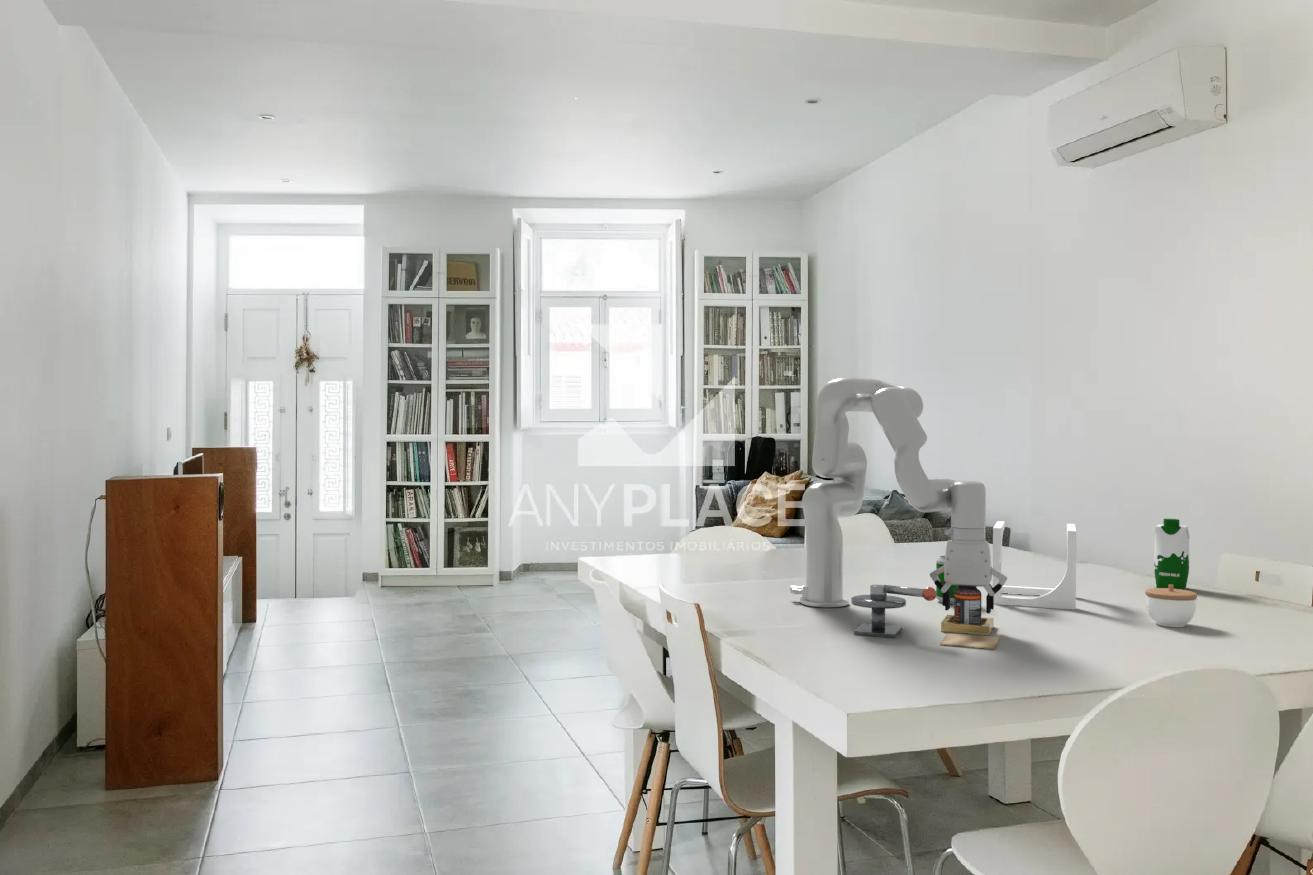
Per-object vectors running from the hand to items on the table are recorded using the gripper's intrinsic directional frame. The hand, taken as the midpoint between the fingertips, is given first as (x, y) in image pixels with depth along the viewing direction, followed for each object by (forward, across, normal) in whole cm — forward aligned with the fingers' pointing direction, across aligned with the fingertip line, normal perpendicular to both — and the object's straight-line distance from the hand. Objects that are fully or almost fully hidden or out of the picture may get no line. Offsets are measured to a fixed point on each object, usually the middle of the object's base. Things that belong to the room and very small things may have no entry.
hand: (967, 610), depth 225 cm
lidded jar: (+5, +43, +25) cm, 50 cm away
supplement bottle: (+5, 0, 0) cm, 5 cm away
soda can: (+4, -8, +34) cm, 35 cm away
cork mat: (+4, +2, -14) cm, 15 cm away
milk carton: (+5, +47, +83) cm, 95 cm away
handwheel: (-2, -14, -13) cm, 20 cm away
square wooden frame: (+4, 0, 0) cm, 4 cm away
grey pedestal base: (+4, -18, -12) cm, 22 cm away
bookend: (+5, +12, +46) cm, 48 cm away
